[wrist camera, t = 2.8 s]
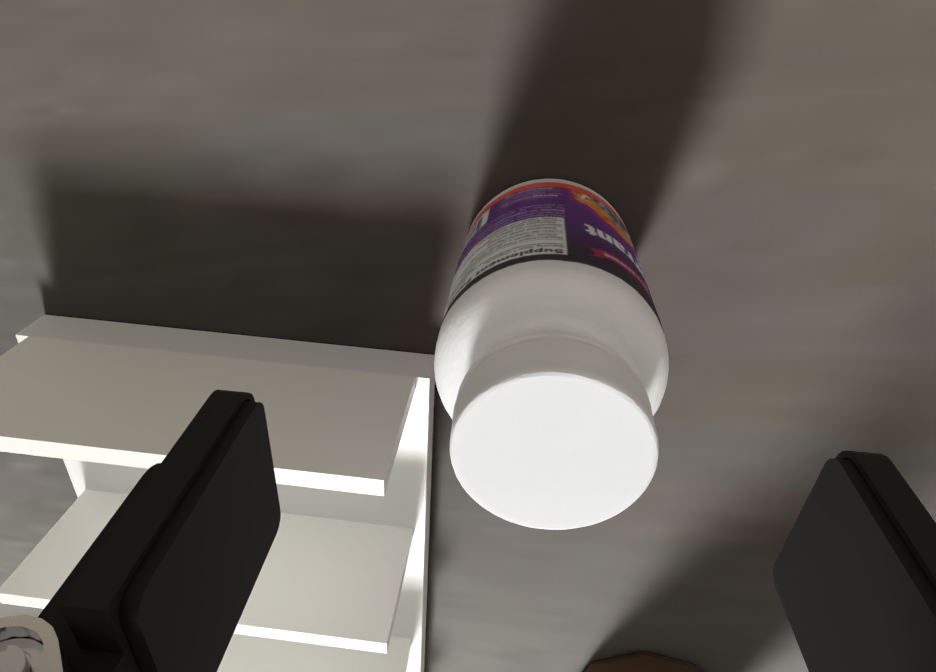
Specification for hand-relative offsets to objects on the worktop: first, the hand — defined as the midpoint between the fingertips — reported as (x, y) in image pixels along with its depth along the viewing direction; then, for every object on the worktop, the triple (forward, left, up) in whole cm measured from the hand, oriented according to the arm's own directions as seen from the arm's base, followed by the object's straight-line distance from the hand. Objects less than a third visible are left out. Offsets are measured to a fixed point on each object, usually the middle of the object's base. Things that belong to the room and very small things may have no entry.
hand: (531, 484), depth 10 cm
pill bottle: (0, 0, -11) cm, 11 cm away
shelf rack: (+11, +16, -11) cm, 22 cm away
